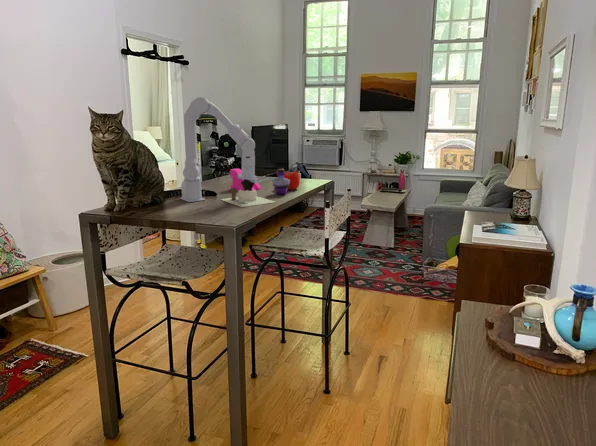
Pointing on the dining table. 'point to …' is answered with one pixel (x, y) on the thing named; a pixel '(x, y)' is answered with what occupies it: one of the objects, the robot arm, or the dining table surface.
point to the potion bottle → (281, 183)
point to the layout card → (248, 201)
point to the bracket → (237, 182)
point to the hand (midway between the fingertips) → (247, 197)
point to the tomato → (292, 180)
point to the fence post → (233, 193)
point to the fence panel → (247, 195)
